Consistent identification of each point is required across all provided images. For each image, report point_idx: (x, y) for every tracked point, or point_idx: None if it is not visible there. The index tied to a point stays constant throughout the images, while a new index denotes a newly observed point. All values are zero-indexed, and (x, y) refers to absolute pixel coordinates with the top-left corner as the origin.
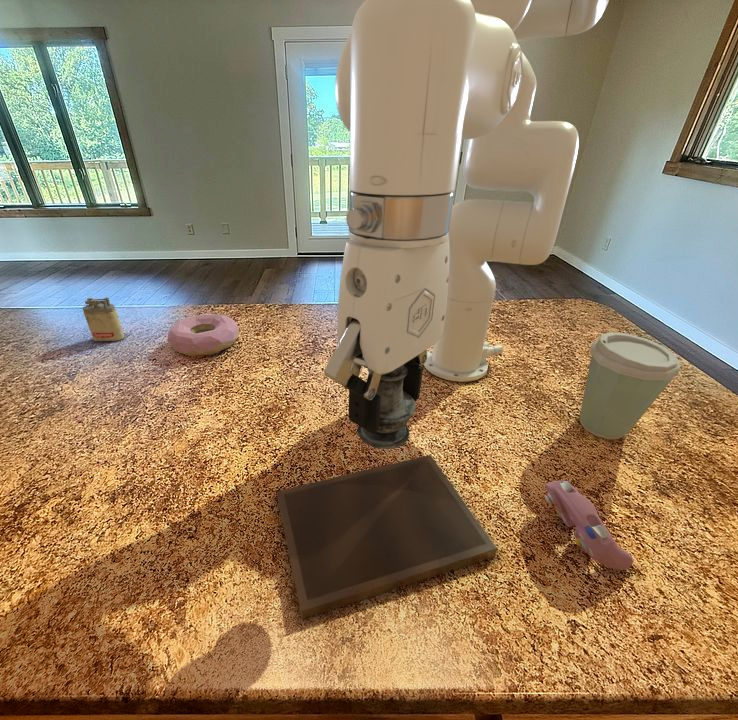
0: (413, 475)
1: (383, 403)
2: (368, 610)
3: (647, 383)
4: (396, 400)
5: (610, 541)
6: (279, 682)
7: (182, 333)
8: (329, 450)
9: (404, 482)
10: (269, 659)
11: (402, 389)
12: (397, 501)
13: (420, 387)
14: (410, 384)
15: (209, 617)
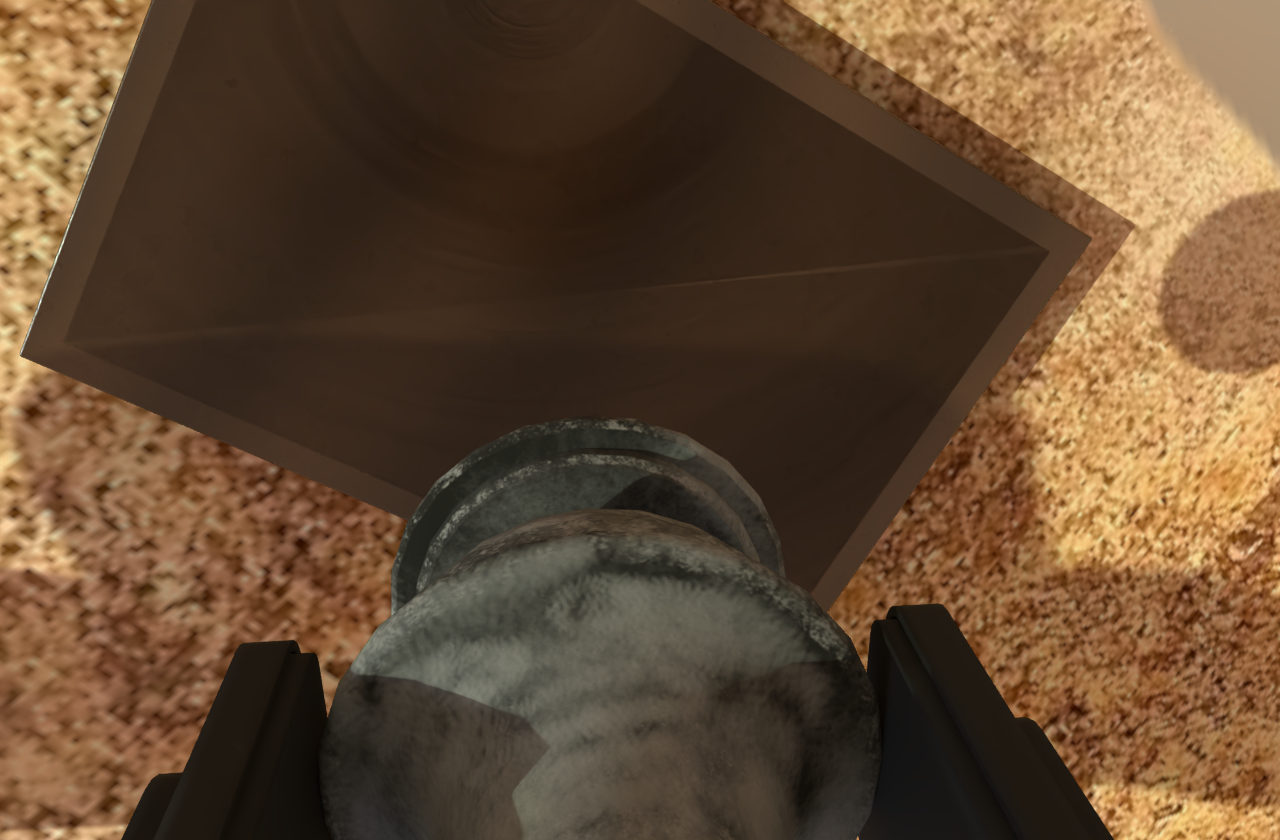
0: (225, 332)
1: (769, 792)
2: (892, 62)
3: None
4: (663, 749)
5: None
6: (1249, 134)
7: None
8: None
9: (304, 336)
10: (1217, 209)
11: (319, 815)
12: (427, 289)
13: (204, 733)
14: (284, 823)
15: (1228, 445)
